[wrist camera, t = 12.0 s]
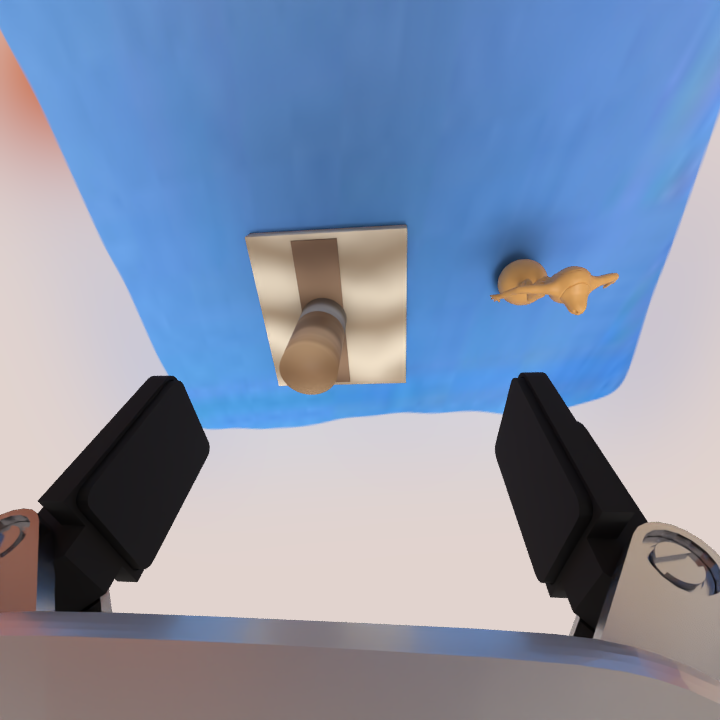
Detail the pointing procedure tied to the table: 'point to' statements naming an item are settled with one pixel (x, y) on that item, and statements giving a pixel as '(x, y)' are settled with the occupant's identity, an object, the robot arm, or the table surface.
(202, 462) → the robot arm
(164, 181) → the table surface
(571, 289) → the figurine
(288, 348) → the brown cylinder
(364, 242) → the floor board
